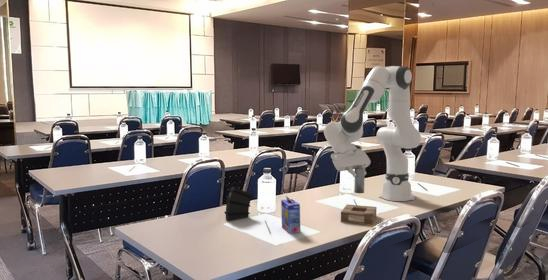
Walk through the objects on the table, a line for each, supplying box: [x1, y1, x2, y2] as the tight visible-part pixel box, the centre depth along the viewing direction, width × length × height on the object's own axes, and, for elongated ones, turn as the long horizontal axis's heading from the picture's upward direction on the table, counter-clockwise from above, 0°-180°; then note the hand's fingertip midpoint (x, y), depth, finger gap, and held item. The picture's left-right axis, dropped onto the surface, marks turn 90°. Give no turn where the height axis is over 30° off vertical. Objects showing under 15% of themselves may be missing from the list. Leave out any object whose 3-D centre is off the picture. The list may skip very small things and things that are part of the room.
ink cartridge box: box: [280, 196, 301, 234], centre depth 193 cm, size 10×6×14 cm, turn 18°
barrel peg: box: [353, 167, 366, 194], centre depth 207 cm, size 4×4×11 cm
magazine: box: [224, 186, 254, 222], centre depth 211 cm, size 4×13×15 cm, turn 122°
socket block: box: [340, 204, 377, 226], centre depth 208 cm, size 14×14×4 cm
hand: (360, 175), depth 206 cm, fingers closed on barrel peg, 4 cm apart
